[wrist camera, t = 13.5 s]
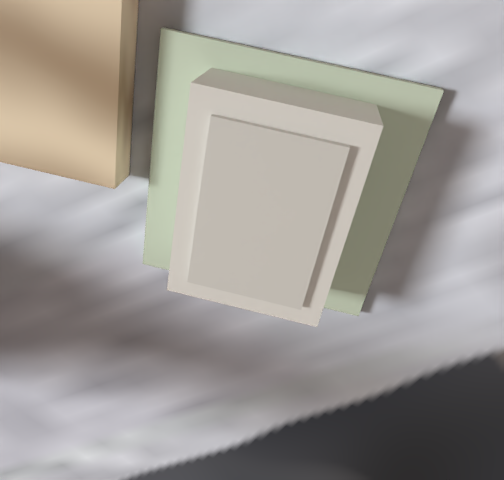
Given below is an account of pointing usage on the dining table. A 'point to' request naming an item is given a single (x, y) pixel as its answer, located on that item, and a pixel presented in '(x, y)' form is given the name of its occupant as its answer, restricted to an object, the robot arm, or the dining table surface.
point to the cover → (267, 192)
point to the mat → (309, 77)
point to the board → (68, 87)
